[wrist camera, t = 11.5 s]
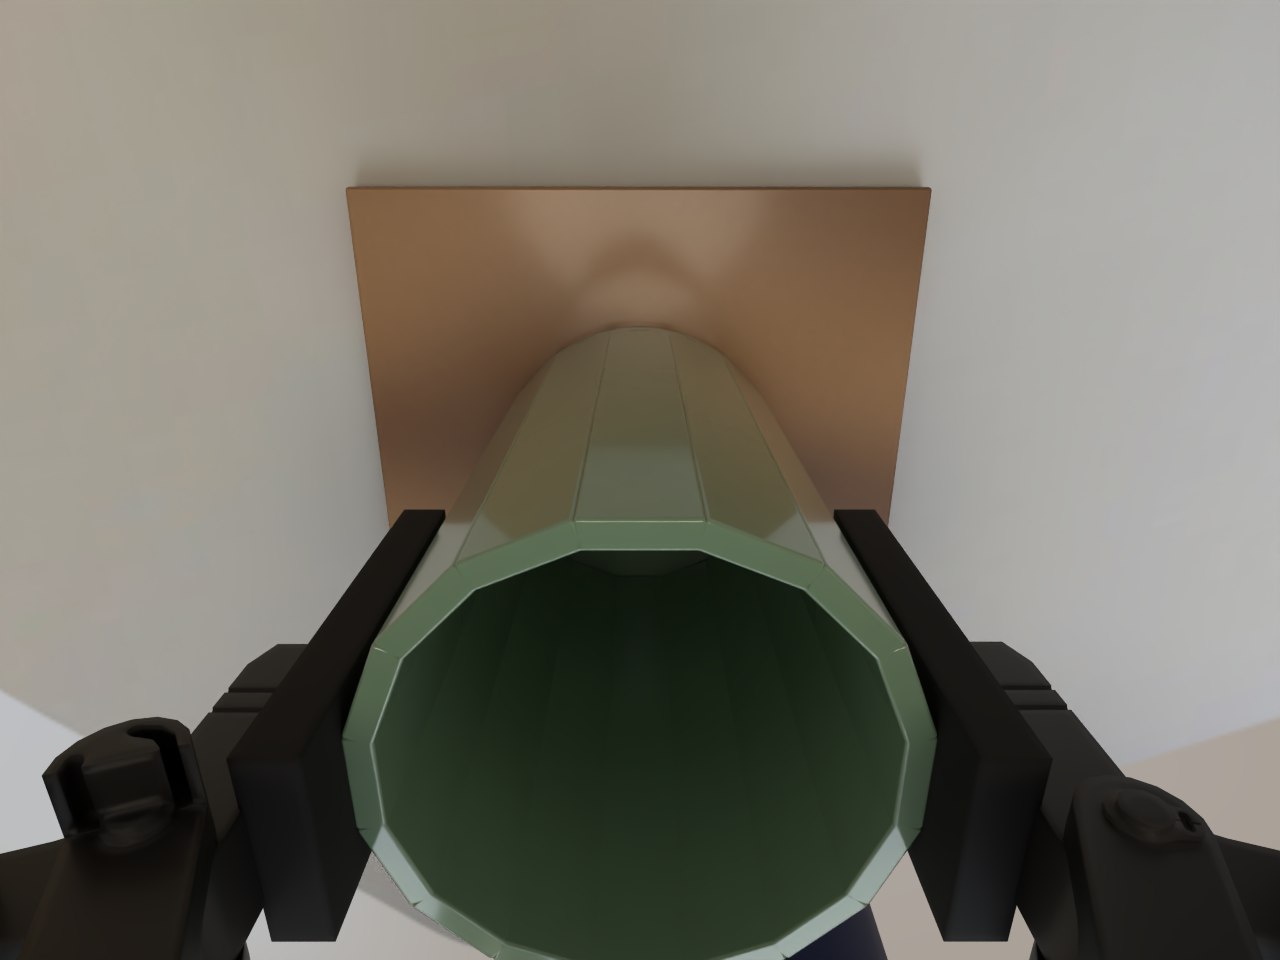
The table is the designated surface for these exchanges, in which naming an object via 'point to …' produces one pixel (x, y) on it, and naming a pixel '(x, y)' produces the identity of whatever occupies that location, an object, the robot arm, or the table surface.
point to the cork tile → (638, 311)
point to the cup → (639, 682)
